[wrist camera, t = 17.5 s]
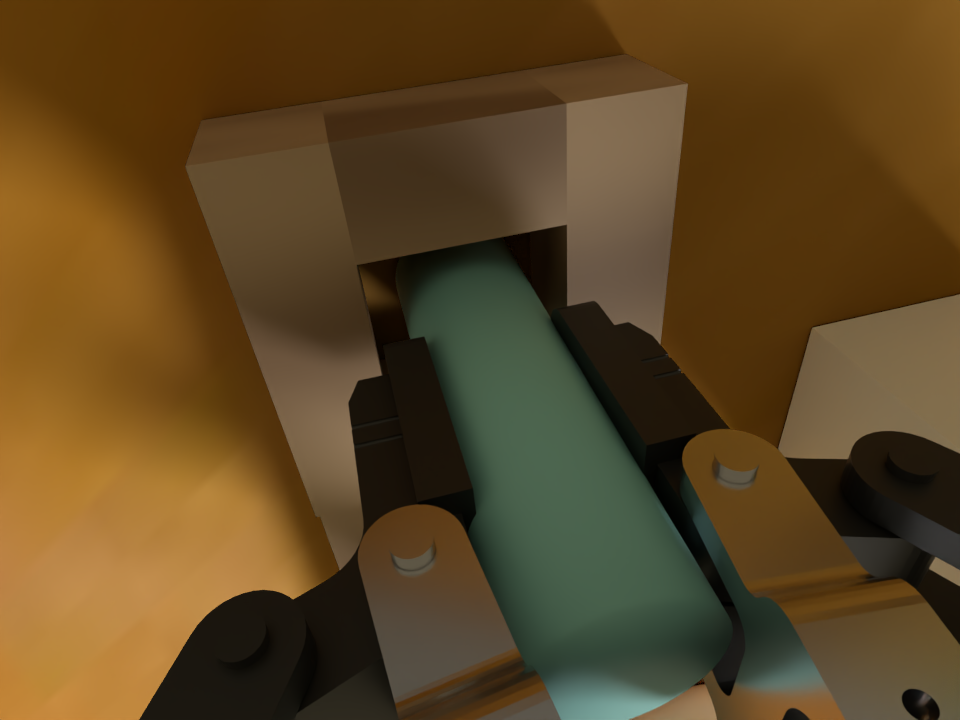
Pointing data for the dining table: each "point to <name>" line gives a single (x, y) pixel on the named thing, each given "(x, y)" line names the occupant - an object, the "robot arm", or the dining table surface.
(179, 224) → the dining table surface
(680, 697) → the cup
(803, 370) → the block
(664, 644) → the pin
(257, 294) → the board
